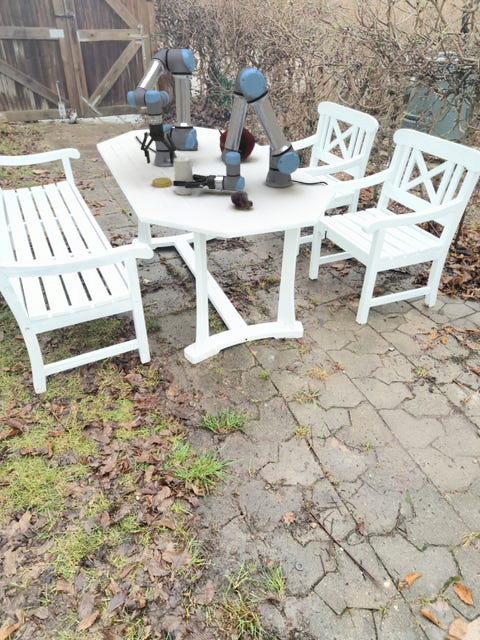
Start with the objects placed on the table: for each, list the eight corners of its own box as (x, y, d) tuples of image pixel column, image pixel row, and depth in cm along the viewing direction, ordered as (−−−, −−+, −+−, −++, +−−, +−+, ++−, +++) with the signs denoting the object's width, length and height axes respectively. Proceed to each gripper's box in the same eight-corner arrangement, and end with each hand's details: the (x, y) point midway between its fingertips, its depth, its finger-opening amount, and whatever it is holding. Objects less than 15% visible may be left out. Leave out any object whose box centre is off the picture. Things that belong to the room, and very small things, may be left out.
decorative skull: (216, 132, 305) (216, 129, 282) (250, 124, 304) (252, 121, 281) (223, 164, 312) (223, 164, 288) (256, 157, 311) (259, 156, 288)
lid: (149, 183, 261) (149, 179, 260) (166, 180, 266) (166, 176, 264) (157, 188, 253) (156, 184, 252) (174, 185, 258) (174, 181, 257)
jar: (197, 192, 247) (194, 159, 237) (180, 195, 243) (177, 162, 233) (188, 187, 254) (186, 155, 244) (172, 190, 250) (169, 158, 240)
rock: (244, 204, 234) (227, 207, 230) (243, 188, 230) (225, 190, 226) (255, 208, 224) (237, 211, 220) (254, 190, 221) (236, 193, 216)
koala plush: (198, 150, 320) (196, 121, 309) (173, 151, 319) (170, 122, 308) (198, 145, 335) (196, 116, 324) (174, 145, 334) (171, 117, 322)
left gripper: (131, 124, 239) (137, 164, 252) (176, 125, 236) (180, 166, 249) (135, 121, 245) (141, 160, 258) (180, 122, 242) (183, 161, 255)
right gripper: (211, 196, 235) (170, 193, 239) (221, 182, 253) (183, 180, 257) (210, 182, 231) (169, 179, 235) (220, 169, 249) (182, 167, 253)
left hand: (160, 163), depth 253 cm, fingers open, 13 cm apart
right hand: (176, 180), depth 246 cm, fingers closed on jar, 10 cm apart
